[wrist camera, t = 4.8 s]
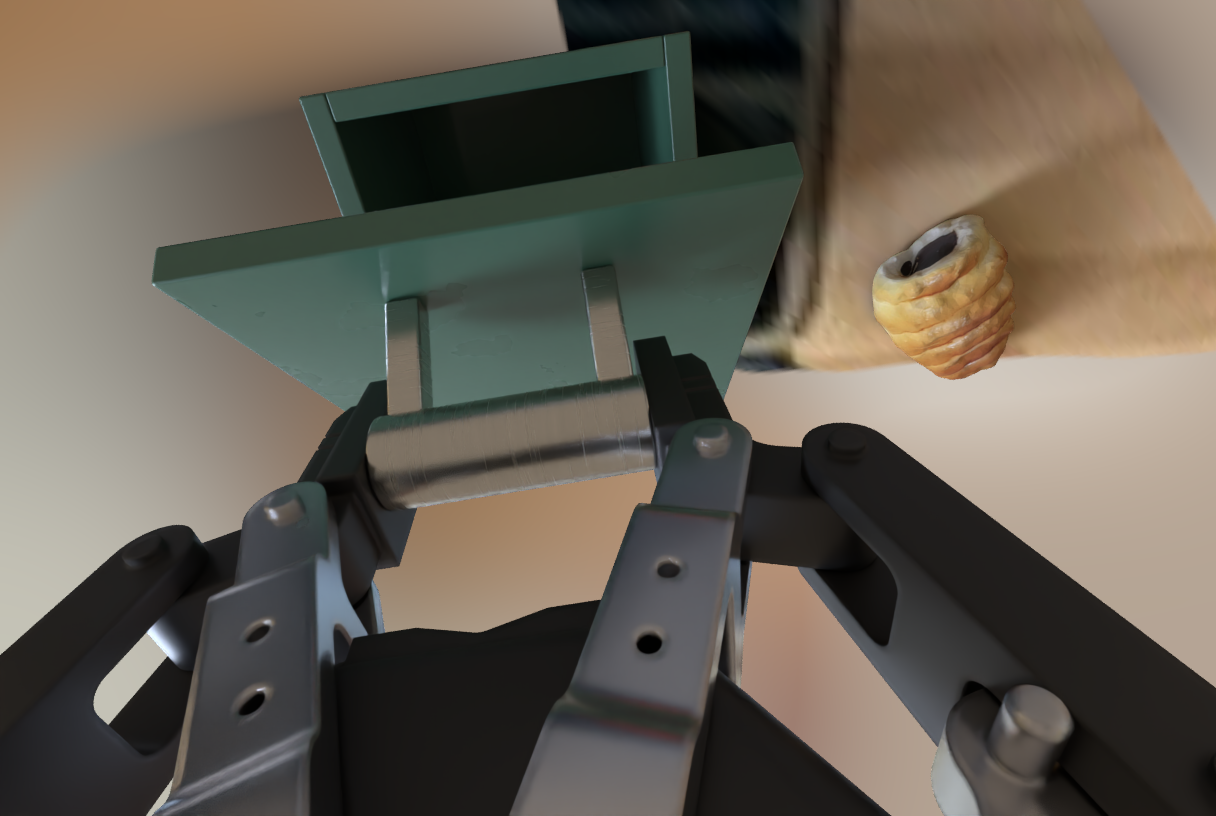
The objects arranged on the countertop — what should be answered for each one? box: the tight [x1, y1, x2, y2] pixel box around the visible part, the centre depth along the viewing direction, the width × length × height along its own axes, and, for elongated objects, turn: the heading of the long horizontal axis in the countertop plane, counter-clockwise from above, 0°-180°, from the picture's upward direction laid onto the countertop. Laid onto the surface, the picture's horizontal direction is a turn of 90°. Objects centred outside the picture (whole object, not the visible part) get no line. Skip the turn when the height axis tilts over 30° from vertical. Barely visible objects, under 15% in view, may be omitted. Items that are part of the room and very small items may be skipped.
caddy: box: [299, 31, 698, 217], centre depth 25 cm, size 13×12×11 cm
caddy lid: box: [152, 142, 804, 511], centre depth 16 cm, size 13×12×5 cm
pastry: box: [872, 215, 1016, 380], centre depth 32 cm, size 9×7×4 cm
